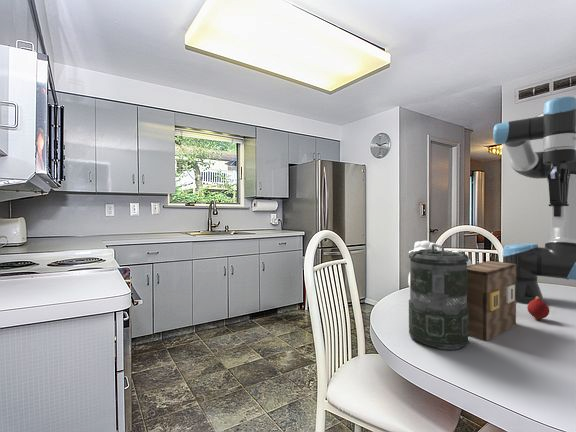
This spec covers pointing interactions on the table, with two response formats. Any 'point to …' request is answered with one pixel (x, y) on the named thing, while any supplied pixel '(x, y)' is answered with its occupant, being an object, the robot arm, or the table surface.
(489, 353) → the table surface
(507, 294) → the button one
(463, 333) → the canister
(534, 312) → the onion
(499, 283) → the console
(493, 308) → the button two
